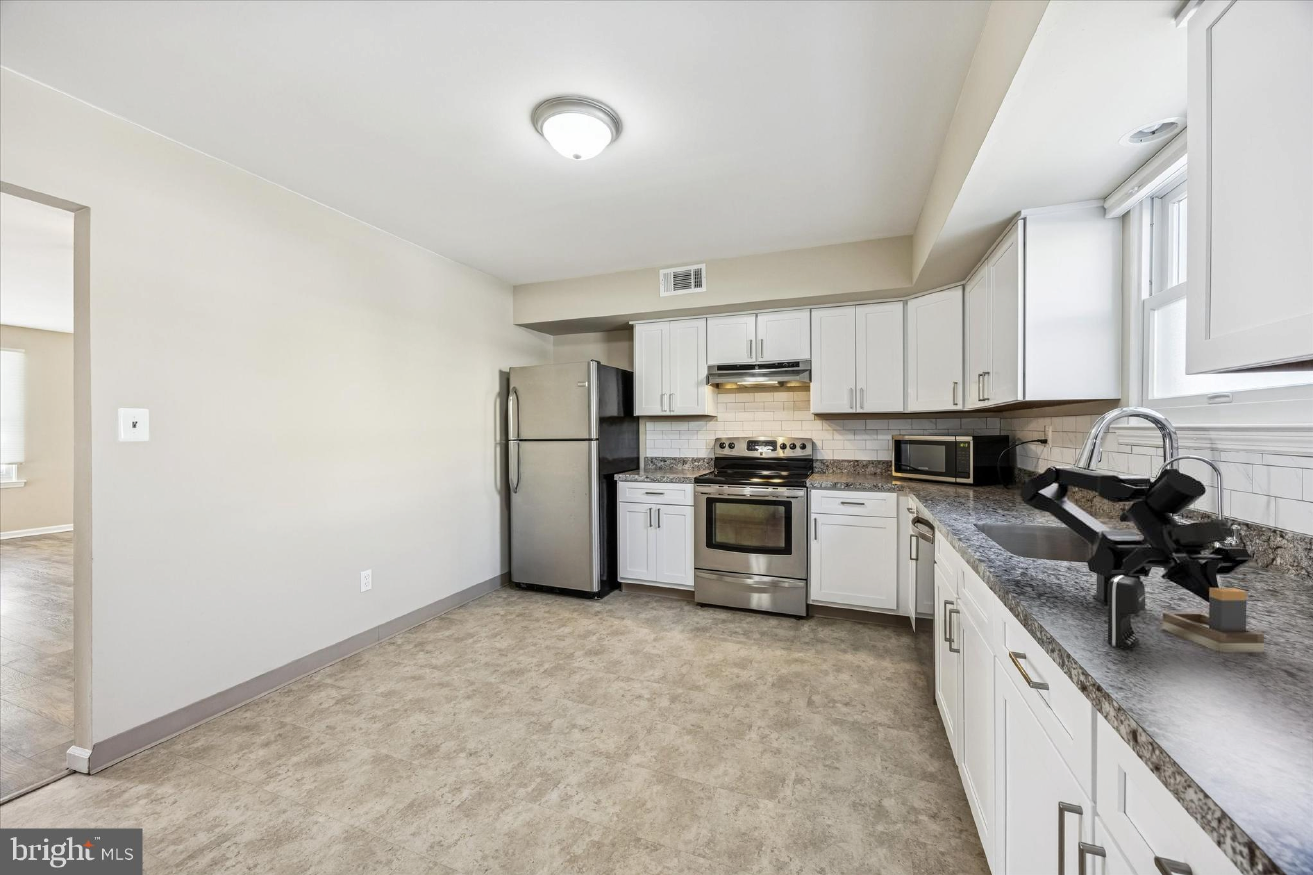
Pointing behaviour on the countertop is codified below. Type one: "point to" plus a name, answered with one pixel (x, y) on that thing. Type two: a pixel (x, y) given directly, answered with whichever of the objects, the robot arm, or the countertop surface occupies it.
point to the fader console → (1212, 633)
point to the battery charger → (1124, 610)
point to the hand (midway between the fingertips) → (1219, 605)
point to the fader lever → (1227, 609)
